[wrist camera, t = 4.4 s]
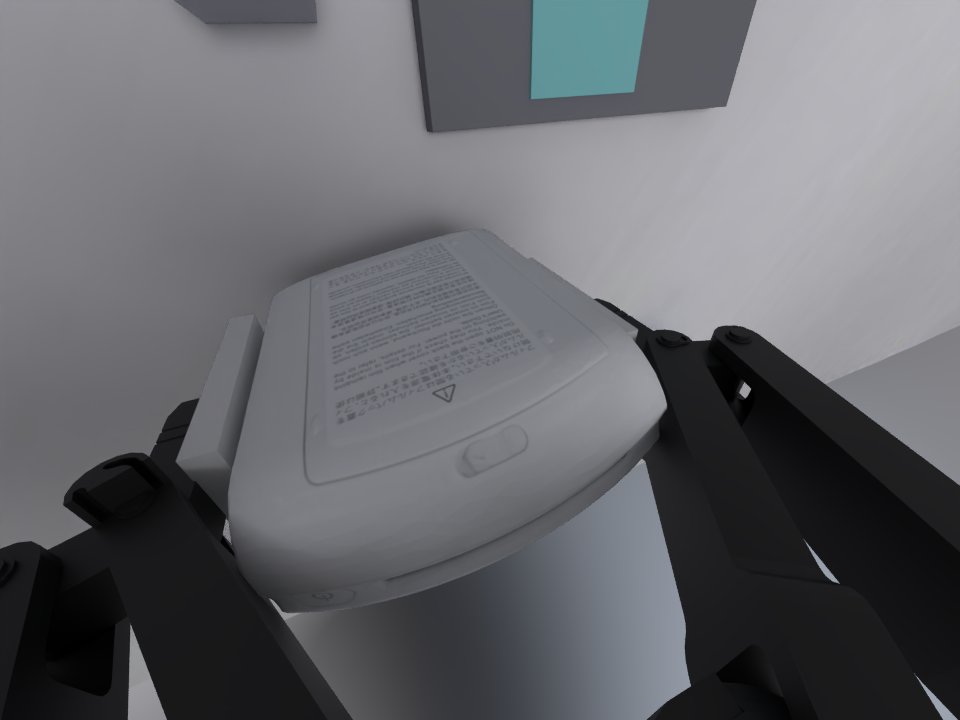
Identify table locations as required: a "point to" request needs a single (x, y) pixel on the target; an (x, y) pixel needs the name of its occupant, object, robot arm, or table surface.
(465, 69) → the pad
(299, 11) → the power strip
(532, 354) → the photo printer
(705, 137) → the table surface
